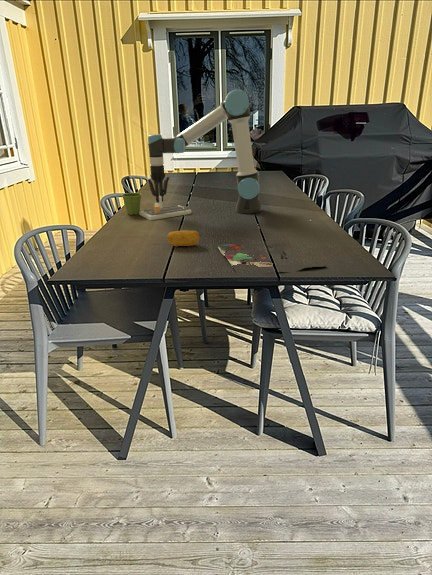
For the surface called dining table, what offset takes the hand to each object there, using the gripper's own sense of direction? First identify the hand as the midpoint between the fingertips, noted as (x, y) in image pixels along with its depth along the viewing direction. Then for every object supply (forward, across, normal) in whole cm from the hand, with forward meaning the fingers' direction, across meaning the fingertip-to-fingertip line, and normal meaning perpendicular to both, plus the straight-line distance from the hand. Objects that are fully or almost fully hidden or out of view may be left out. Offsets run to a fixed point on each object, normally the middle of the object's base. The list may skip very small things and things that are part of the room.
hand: (160, 207), depth 226 cm
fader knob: (+3, +2, 0) cm, 3 cm away
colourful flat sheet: (+6, -8, +89) cm, 89 cm away
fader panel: (+5, -4, -4) cm, 7 cm away
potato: (+5, +14, +56) cm, 57 cm away
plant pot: (+5, +11, -16) cm, 19 cm away
